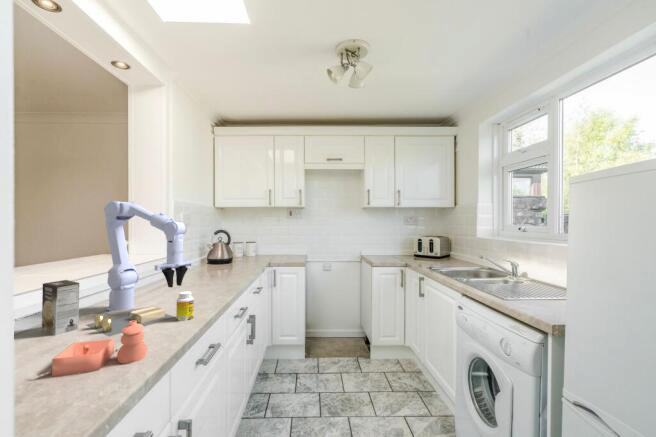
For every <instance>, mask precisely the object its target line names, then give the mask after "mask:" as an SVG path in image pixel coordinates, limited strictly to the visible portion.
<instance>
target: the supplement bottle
mask: <svg viewBox="0 0 656 437" xmlns="http://www.w3.org/2000/svg"><path fill="white" fill-rule="evenodd" d="M178 295H179V296H178V298H176V316H175V318H176V321H177V322H186V321H190V320H193V319H194V309H195V308H194V305H195V304H194V301H195V298H194V297H193V296H192V291H190V290H189V291H181V292H179V294H178Z"/></svg>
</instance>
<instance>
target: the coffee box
mask: <svg viewBox="0 0 656 437" xmlns="http://www.w3.org/2000/svg"><path fill="white" fill-rule="evenodd" d="M41 299H42V300H41V301H42V302H41V303H42V304H41V306H42V308H41V309H42V310H41V312H42V313H41V314H42V315H41V331H42V332H45V333H47V334H50V335H52V336H59V335H62V334H66V333H69V332H73V331H76V330H79V325H80V324H79V322H80V320H79V318H80V317H79V316H80V315H79V314H80V311H79V310H80V282H78V281H73V280H68V279H64V280H56V281H50V282H44V283H42V298H41Z"/></svg>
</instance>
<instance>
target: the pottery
mask: <svg viewBox="0 0 656 437" xmlns="http://www.w3.org/2000/svg"><path fill="white" fill-rule="evenodd" d="M136 323H137V321H136V320H134V321H130V322H129V325H128V326H126V327H124V328H123V329H122V333H121V334H122V336H121V337H120V343H121V345H122V346H120V347H119V348H118V351H117V354H116V355H117V356H116V357H117V361H118V363H119V364H132V363H136V362H139V361H142V360H144V358H145V357H146V356H147V351H148V347H147V344H146V343H145V342H144V341H143V340H144V339H145V332H144V331H143V330H144V328H145V326H144V327H143V325H141V324H136ZM114 348H115V338H108V339H106V338H105V339H97V340H88V341H87V340H86V341H80V342H79V341H78V342H73V343H71V344H70V345H69V346H68V347H66V348H65V349H64V350H62V351H61V352H60V353H59V354H57V355H56V356H55V357H53V358H52V360H51V377H59V376H60V377H61V376H67V375H74V374H75V375H76V374H81V373H90V372H95V371H100V370H101V369H102V368H103V367H104V365H106V363H107V362H108V360H109V359H111V357H112V356H113V355H114V353H115V349H114Z"/></svg>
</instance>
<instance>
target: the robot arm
mask: <svg viewBox="0 0 656 437" xmlns="http://www.w3.org/2000/svg"><path fill="white" fill-rule="evenodd" d="M103 209H104V215H105V228H106V233H107V238H108V245H109V249H110V254H111V259H112V260H111V261H112V264H113V265H112V267H111V268H109V269H108V271H107V274H108V276H107V285H108V287H109V288H110V289H111V290H110V291H109V295H108V297H109V298H108V301H109V302H108V307H107V308H106V311H110V312H114V311H126V310H130V309H132V308H134V307H135V287H136V286H137V283H138V282H139V281H140V273H139V272H138V271H137V268H136V267H137V266H136V265H134V264H133V263H132V262H130V258H129V257H130V256H129V252H128V246H127V242H126V235H125V230H124V225H125V223H127V222H128V221H129V220H131V219H132V218H134V217H135V216H137V217H139V218H141V219H143V220H146V221H148V222H149V223H150V225H151V226H152V227H153V228H155V229H158V230H160V231H161V232H163V233H164V235H165V240H166V262H164V263H160V264H155V265H154V271H157V272H158V271H161V273H162V274H163V276H164V278H165V280H166V282H167V283H166V284H167V287H168V288H173V287H174V277H176V280H175V281H176V286H179V287H181V286H182V285H183V280H184V278H185V275H186V273H187V271H188V270H189V269H188V268H189V267H193V266H194V261H193V260H184V235H185V234H186V232H187V230H188V229H187V225H186V223H184V222H183V221H181V220H178V221H176V220H175V218H173V217H168V216H167V215H166V214H165V213H164V212H157V213H153V212H152V211H150V210H148V209H146V208H145V207H143V206H141V205H139V204H138V203H136V202H134V201H117V200H110V201H108V203H107V204H106V205H105V207H104V208H103ZM174 275H176V276H174Z"/></svg>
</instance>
